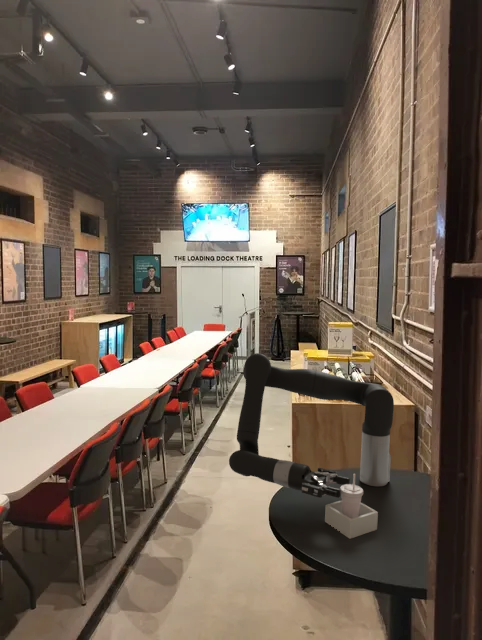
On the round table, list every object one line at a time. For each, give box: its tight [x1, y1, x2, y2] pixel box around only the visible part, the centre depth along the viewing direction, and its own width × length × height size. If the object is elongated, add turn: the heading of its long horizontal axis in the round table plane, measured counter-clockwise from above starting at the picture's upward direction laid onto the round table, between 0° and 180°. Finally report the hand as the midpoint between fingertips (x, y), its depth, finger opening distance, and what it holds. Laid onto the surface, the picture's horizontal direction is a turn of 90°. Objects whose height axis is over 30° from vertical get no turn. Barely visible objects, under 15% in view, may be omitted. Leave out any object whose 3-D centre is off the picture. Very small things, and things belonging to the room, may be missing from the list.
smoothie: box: [339, 473, 364, 519], centre depth 132 cm, size 6×6×14 cm
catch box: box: [324, 499, 379, 539], centre depth 132 cm, size 10×10×5 cm
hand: (345, 487), depth 133 cm, fingers open, 8 cm apart
